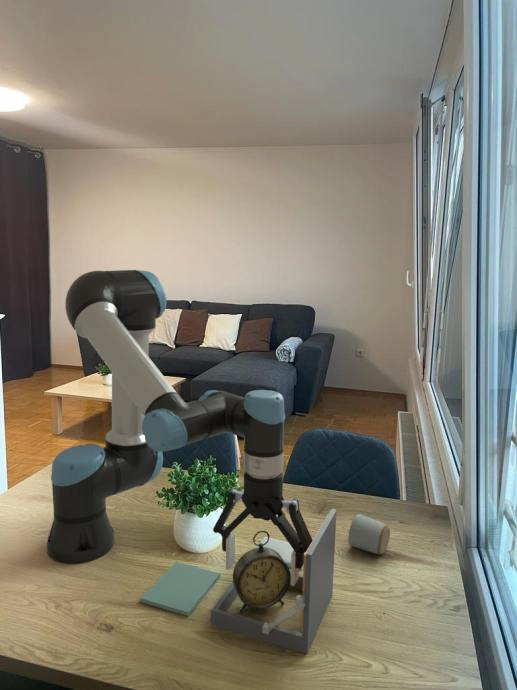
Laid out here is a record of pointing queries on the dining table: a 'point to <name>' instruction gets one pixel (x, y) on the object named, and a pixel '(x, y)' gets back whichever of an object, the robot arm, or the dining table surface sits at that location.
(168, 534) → the dining table surface
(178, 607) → the rubber mat
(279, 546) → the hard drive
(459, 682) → the dining table surface
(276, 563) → the alarm clock
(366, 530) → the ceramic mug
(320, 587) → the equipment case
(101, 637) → the dining table surface
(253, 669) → the dining table surface
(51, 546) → the robot arm
